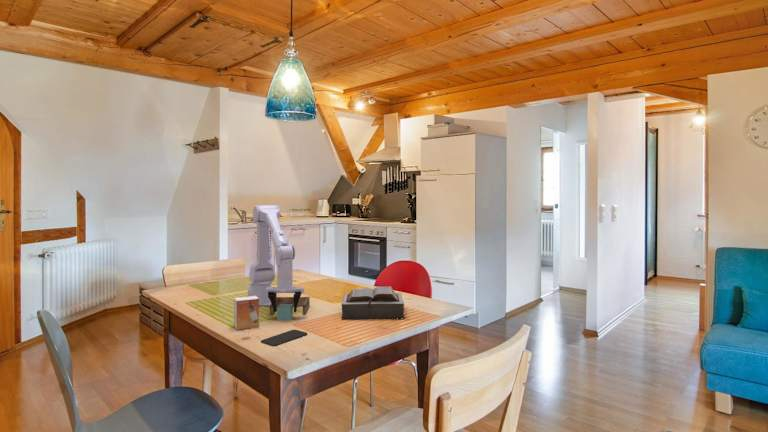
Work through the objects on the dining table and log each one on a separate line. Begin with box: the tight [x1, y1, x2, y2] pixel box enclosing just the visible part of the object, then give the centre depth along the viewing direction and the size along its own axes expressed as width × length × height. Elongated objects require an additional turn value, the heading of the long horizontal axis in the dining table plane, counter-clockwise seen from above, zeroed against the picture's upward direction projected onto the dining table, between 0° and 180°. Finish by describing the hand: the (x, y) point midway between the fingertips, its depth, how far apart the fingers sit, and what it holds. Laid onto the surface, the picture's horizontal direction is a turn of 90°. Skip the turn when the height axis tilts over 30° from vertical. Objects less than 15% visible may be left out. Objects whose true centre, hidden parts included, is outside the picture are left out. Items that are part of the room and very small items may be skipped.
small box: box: [233, 296, 260, 331], centre depth 157 cm, size 8×6×10 cm
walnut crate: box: [269, 296, 311, 316], centre depth 179 cm, size 14×14×4 cm
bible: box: [341, 286, 405, 321], centre depth 176 cm, size 23×27×10 cm
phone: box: [260, 329, 308, 347], centre depth 145 cm, size 7×1×15 cm
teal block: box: [276, 304, 294, 322], centre depth 167 cm, size 5×5×5 cm
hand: (285, 311), depth 167 cm, fingers open, 7 cm apart
